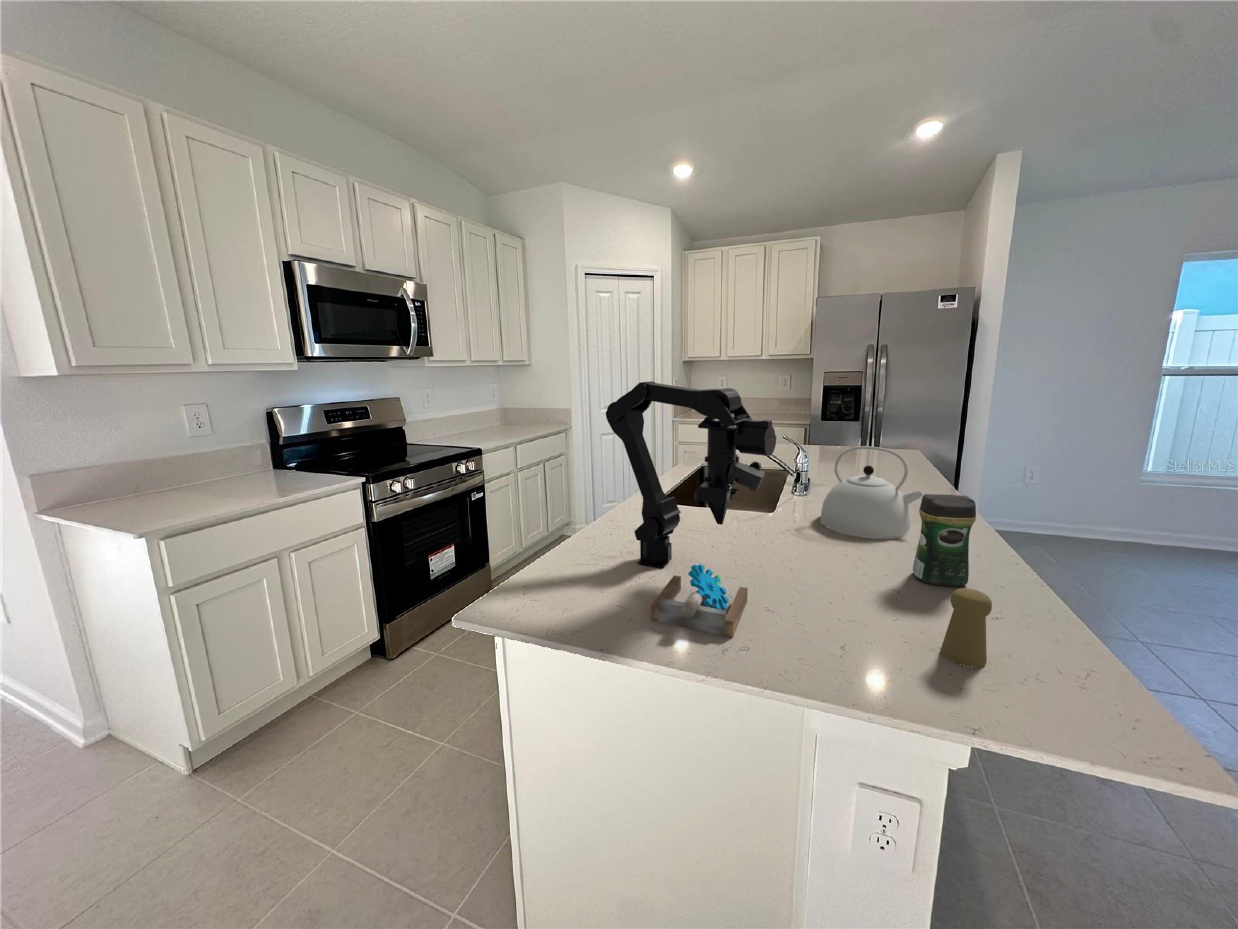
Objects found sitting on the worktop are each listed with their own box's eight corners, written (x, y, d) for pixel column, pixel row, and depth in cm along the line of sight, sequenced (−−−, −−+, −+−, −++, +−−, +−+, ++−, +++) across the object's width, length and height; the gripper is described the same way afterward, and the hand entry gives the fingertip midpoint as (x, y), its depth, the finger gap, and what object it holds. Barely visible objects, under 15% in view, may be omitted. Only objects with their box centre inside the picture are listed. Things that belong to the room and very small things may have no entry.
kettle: (921, 521, 139) (931, 444, 134) (917, 547, 121) (928, 458, 116) (828, 508, 153) (834, 437, 148) (812, 529, 134) (817, 449, 129)
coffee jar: (956, 573, 106) (968, 491, 102) (972, 590, 98) (985, 502, 94) (907, 569, 108) (916, 489, 104) (919, 585, 101) (929, 499, 97)
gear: (718, 615, 87) (685, 568, 90) (695, 630, 90) (664, 585, 93) (739, 597, 97) (708, 556, 100) (718, 612, 99) (688, 571, 102)
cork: (931, 646, 80) (939, 584, 77) (966, 644, 80) (975, 582, 78) (959, 669, 74) (969, 603, 71) (996, 666, 74) (1007, 600, 72)
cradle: (647, 624, 88) (647, 596, 86) (673, 588, 101) (674, 564, 100) (730, 643, 81) (731, 613, 80) (747, 602, 95) (748, 576, 94)
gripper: (754, 462, 87) (751, 544, 90) (768, 445, 104) (766, 515, 107) (694, 458, 92) (693, 536, 95) (717, 442, 108) (716, 509, 111)
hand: (720, 523), depth 102 cm, fingers closed
